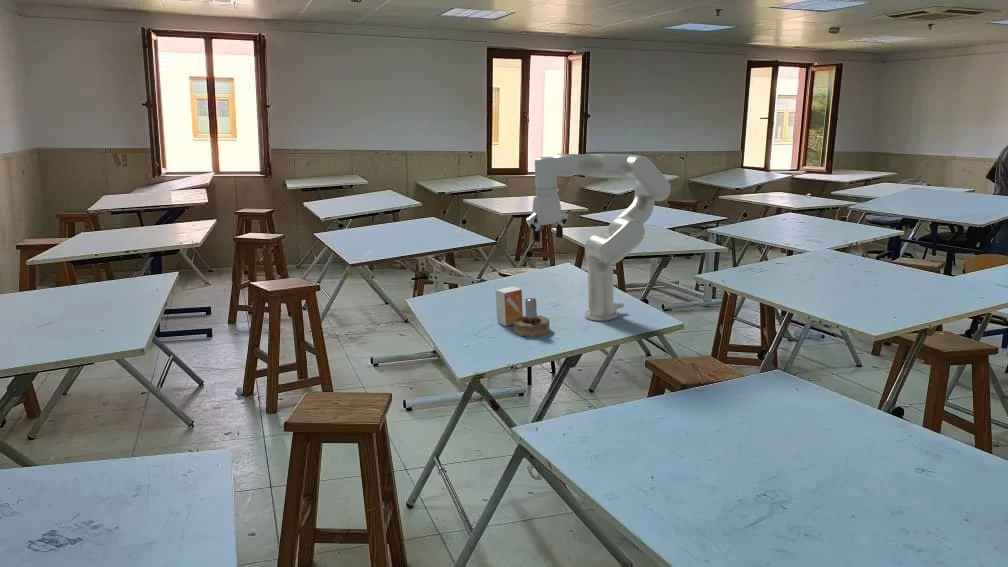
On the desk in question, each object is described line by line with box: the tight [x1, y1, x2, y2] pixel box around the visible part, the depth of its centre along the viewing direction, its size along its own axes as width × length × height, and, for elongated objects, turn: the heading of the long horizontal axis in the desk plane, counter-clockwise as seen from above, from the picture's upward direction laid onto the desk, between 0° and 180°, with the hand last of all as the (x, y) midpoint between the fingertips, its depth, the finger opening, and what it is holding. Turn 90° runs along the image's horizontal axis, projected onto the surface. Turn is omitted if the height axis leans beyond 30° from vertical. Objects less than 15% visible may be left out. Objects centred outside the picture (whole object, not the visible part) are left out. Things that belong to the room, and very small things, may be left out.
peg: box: [524, 297, 538, 324], centre depth 255 cm, size 4×4×12 cm
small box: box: [495, 286, 524, 327], centre depth 267 cm, size 8×6×13 cm
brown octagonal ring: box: [513, 315, 550, 338], centre depth 256 cm, size 12×12×4 cm
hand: (548, 239), depth 255 cm, fingers open, 9 cm apart
